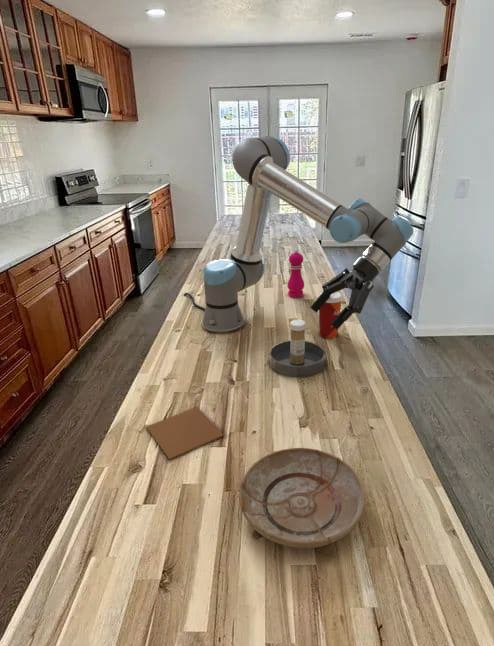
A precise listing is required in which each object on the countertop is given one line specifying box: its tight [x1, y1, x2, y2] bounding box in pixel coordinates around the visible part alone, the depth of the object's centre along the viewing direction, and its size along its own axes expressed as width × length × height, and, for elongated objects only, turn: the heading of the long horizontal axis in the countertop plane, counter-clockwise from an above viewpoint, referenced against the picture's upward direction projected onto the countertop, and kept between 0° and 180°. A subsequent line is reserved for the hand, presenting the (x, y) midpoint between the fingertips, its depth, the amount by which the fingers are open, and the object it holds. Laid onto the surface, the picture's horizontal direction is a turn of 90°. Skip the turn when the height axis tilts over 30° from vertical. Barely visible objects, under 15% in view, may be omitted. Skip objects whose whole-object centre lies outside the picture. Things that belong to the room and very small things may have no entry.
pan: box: [268, 340, 326, 378], centre depth 134 cm, size 17×17×4 cm
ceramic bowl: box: [238, 447, 366, 549], centre depth 83 cm, size 23×24×5 cm
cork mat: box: [146, 406, 225, 461], centre depth 106 cm, size 14×14×1 cm
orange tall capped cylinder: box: [317, 291, 343, 339], centre depth 149 cm, size 8×8×15 cm
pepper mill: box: [286, 249, 305, 298], centre depth 183 cm, size 7×7×20 cm
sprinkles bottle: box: [289, 319, 306, 365], centre depth 132 cm, size 5×5×14 cm
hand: (323, 318), depth 131 cm, fingers open, 13 cm apart
